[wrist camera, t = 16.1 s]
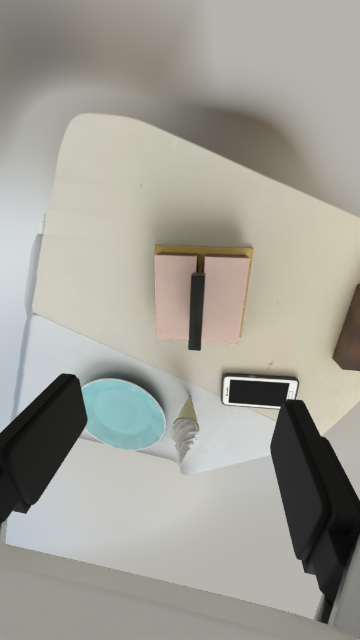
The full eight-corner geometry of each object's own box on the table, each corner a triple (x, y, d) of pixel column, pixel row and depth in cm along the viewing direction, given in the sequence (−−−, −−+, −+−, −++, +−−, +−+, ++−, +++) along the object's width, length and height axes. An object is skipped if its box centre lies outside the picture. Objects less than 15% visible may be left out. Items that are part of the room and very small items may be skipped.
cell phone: (292, 407, 46) (293, 410, 45) (220, 401, 48) (221, 405, 47) (298, 377, 43) (300, 380, 42) (222, 372, 45) (222, 375, 44)
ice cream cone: (189, 384, 47) (180, 448, 34) (206, 398, 48) (203, 466, 35) (174, 395, 49) (159, 460, 36) (190, 409, 50) (181, 477, 36)
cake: (155, 245, 37) (147, 247, 32) (252, 248, 35) (258, 251, 30) (157, 330, 43) (151, 342, 39) (240, 336, 41) (243, 350, 37)
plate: (86, 433, 59) (80, 443, 56) (74, 365, 50) (66, 372, 47) (167, 447, 56) (164, 457, 54) (170, 377, 47) (167, 386, 45)
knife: (196, 263, 37) (191, 275, 28) (207, 263, 36) (205, 276, 28) (193, 323, 41) (188, 349, 32) (203, 323, 41) (200, 350, 32)
